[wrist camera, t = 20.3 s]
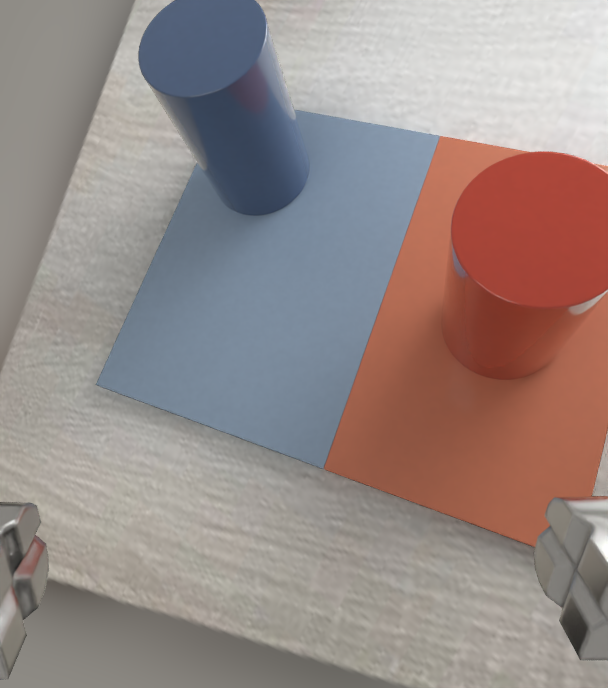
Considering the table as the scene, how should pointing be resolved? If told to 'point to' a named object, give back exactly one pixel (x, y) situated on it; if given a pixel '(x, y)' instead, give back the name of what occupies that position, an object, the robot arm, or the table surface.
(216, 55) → the navy blue cylinder
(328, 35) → the table surface
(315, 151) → the sorting board
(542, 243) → the red upright cylinder
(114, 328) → the table surface
